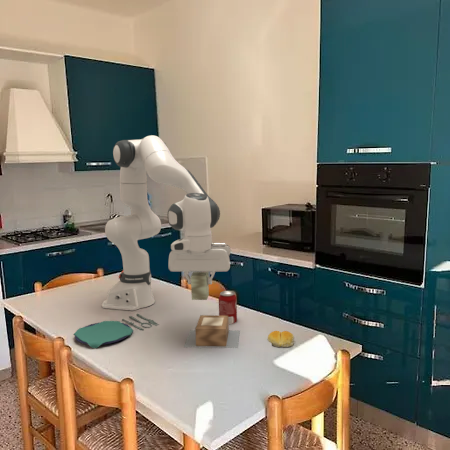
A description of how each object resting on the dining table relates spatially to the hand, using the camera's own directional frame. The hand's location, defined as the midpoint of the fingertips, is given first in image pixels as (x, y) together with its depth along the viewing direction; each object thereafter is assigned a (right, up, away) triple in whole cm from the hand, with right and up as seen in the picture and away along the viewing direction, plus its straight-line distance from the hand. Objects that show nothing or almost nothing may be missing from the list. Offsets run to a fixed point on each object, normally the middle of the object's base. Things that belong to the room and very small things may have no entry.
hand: (200, 283), depth 144 cm
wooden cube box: (+4, -20, +5) cm, 21 cm away
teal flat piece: (-32, -20, +16) cm, 41 cm away
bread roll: (+28, -21, +3) cm, 35 cm away
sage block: (0, -5, +1) cm, 5 cm away
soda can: (+9, -18, +21) cm, 29 cm away
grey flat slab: (+4, -21, +5) cm, 22 cm away
